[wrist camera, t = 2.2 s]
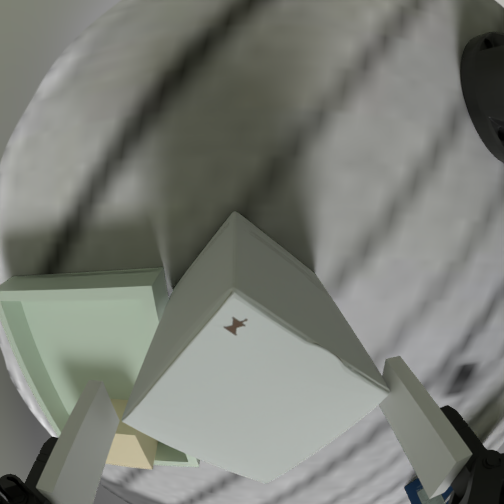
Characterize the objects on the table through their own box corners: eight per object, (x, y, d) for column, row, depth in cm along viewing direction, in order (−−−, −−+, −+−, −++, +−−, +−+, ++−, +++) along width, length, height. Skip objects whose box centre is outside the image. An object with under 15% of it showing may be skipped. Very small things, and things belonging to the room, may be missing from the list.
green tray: (163, 267, 25) (151, 285, 21) (201, 441, 31) (199, 466, 27) (13, 276, 24) (-9, 291, 21) (77, 430, 31) (68, 451, 27)
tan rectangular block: (145, 400, 28) (135, 435, 23) (159, 436, 30) (152, 469, 25) (80, 395, 28) (64, 425, 23) (98, 430, 29) (86, 459, 25)
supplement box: (168, 291, 26) (111, 421, 11) (234, 207, 24) (231, 279, 10) (252, 347, 28) (265, 489, 13) (319, 275, 26) (397, 393, 12)
